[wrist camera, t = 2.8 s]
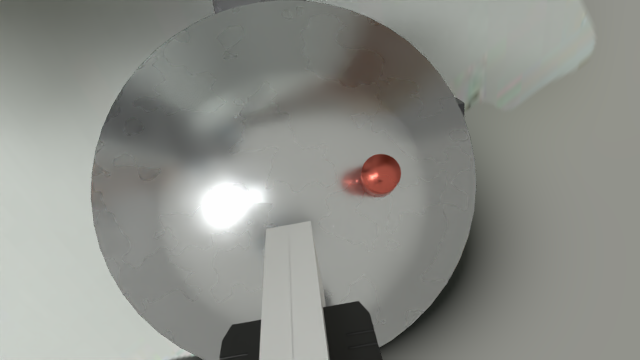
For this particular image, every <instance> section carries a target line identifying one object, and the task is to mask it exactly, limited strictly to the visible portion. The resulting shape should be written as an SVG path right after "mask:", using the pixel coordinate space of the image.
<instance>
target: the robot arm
mask: <svg viewBox="0 0 640 360" xmlns="http://www.w3.org/2000/svg"><path fill="white" fill-rule="evenodd" d="M219 358H220V360H382V356H381V353H380V349H379V345H378V342H377V338H376V334H375V331H374V327H373V323H372V319H371V316H370V313H369V312H368V310H367V309H366V308H365V307H364V306H363V305H362V304H361V303H360V302H359V301H355V302H350V303H344V304H339V305H333V306H327V307H326V304H325V297H324V290H323V284H322V278H321V273H320V268H319V262H318V257H317V252H316V247H315V241H314V236H313V231H312V225H311V221H308V222H302V223H297V224H291V225H285V226H279V227H274V228H268V229H266V239H265V258H264V278H263V297H262V316H261V320H256V321H250V322H244V323H239V324H233V325H231V327H230V328H229V330H228V332H227V333H226V335H225V337H224V338H223V340H222V344H221V350H220V356H219Z"/></svg>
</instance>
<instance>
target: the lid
mask: <svg viewBox="0 0 640 360" xmlns="http://www.w3.org/2000/svg"><path fill="white" fill-rule="evenodd" d="M475 196H476V170H475V158H474V153H473V148H472V143H471V138H470V134H469V131H468V128H467V126H466V122H465V120H464V116H463V114H462V112H461V110H460V108H459V106H458V104H457V102H456V100H455V97H454V95H453V93H452V92H451V90H450V89H449V87H448V86H447V84H446V83H445V81H444V80H443V78H442V77H441V75H440V74H439V73H438V71H437V70H436V69H435V68H434V67H433V66H432V65H431V63H430V62H429V61H428V60H427V59H426V58H425V56H423V55H422V54H421V53H420V52H419V51H418V50H417V49H416V48H415V47H413V46H412V45H411V44H410V43H409V42H408V41H407V40H405V39H404V38H402V37H401V36H399V35H398V34H397V33H395V32H394V31H392V30H391V29H389V28H388V27H386V26H384V25H382V24H380V23H378V22H376V21H374V20H373V19H371V18H369V17H366V16H364V15H361V14H358V13H356V12H353V11H351V10H348V9H344V8H341V7H337V6H333V5H329V4H324V3H317V2H310V1H296V0H277V1H267V2H257V3H252V4H248V5H243V6H238V7H234V8H231V9H228V10H225V11H222V12H219V13H216V14H214V15H211V16H209V17H207V18H205V19H203V20H201V21H199V22H196V23H194V24H192V25H191V26H189V27H187V28H186V29H184V30H183V31H181V32H179V33H178V34H176V35H174V36H173V37H172V38H170V39H169V40H168V41H167V42H165V43H164V44H163V45H162V46H160V47H159V48H158V49H157V50H155V51H154V52H153V53H152V54H151V55H150V56H149V57H148V58H147V59H146V60H145V61H144V62H143V63H142V64H141V65H140V66H139V67H138V69H137V70H136V71H135V72H134V74H133V75H132V76H131V78H130V79H129V80H128V81H127V83H126V84H125V85H124V87H123V88H122V90H121V92H120V93H119V95H118V97H117V98H116V100H115V102H114V103H113V105H112V107H111V109H110V112H109V114H108V116H107V118H106V121H105V123H104V125H103V127H102V131H101V134H100V137H99V141H98V144H97V147H96V151H95V157H94V163H93V169H92V182H91V203H92V212H93V221H94V227H95V231H96V234H97V238H98V242H99V246H100V249H101V252H102V254H103V257H104V259H105V262H106V264H107V267H108V269H109V271H110V273H111V275H112V277H113V278H114V280H115V282H116V283H117V285H118V287H119V288H120V290H121V292H122V294H123V295H124V296H125V297H126V299H127V300H128V301H129V302H130V304H131V305H132V306H133V307H134V309H135V310H136V311H137V312H138V314H139V315H140V316H141V317H142V318H144V319H145V320H146V321H147V322H148V323H149V324H150V325H151V326H152V327H153V328H154V329H155V330H156V331H157V332H159V333H160V334H161V335H163V336H164V337H166V338H167V339H169V340H170V341H171V342H173V343H174V344H176V345H177V346H179V347H180V348H182V349H184V350H186V351H188V352H190V353H192V354H194V355H196V356H198V357H200V358H202V359H204V360H220V358H219V356H220V350H221V344H222V340H223V338H224V337H225V335H226V333H227V332H228V330H229V328H230V327H231V325H233V324H239V323H244V322H250V321H256V320H261V316H262V297H263V278H264V258H265V239H266V229H268V228H274V227H279V226H285V225H291V224H297V223H302V222H308V221H311V225H312V231H313V236H314V241H315V247H316V252H317V257H318V262H319V268H320V273H321V278H322V284H323V290H324V297H325V304H326V307H327V306H333V305H339V304H344V303H350V302H355V301H359V302H360V303H361V304H362V305H363V306H364V307H365V308H366V309H367V310H368V312H369V313H370V316H371V319H372V323H373V327H374V331H375V334H376V338H377V342H378V345H379V347H380V346H382V345H384V344H385V343H387V342H389V341H391V340H392V339H393V338H395V337H396V336H397V335H399V334H400V333H401V332H402V331H404V330H405V329H406V328H407V327H409V326H410V325H411V324H413V322H415V320H417V318H418V317H419V316H420V315H421V314H422V313H423V312H424V311H425V310H426V309H427V308H428V307H429V306H430V305H431V304H432V302H433V301H434V300H435V299H436V297H437V296H438V295H439V293H440V292H441V290H442V289H443V288H444V286H445V285H446V284H447V282H448V280H449V278H450V277H451V275H452V273H453V271H454V269H455V267H456V265H457V264H458V262H459V260H460V257H461V255H462V252H463V249H464V247H465V244H466V241H467V238H468V235H469V232H470V227H471V223H472V218H473V214H474V208H475Z"/></svg>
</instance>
